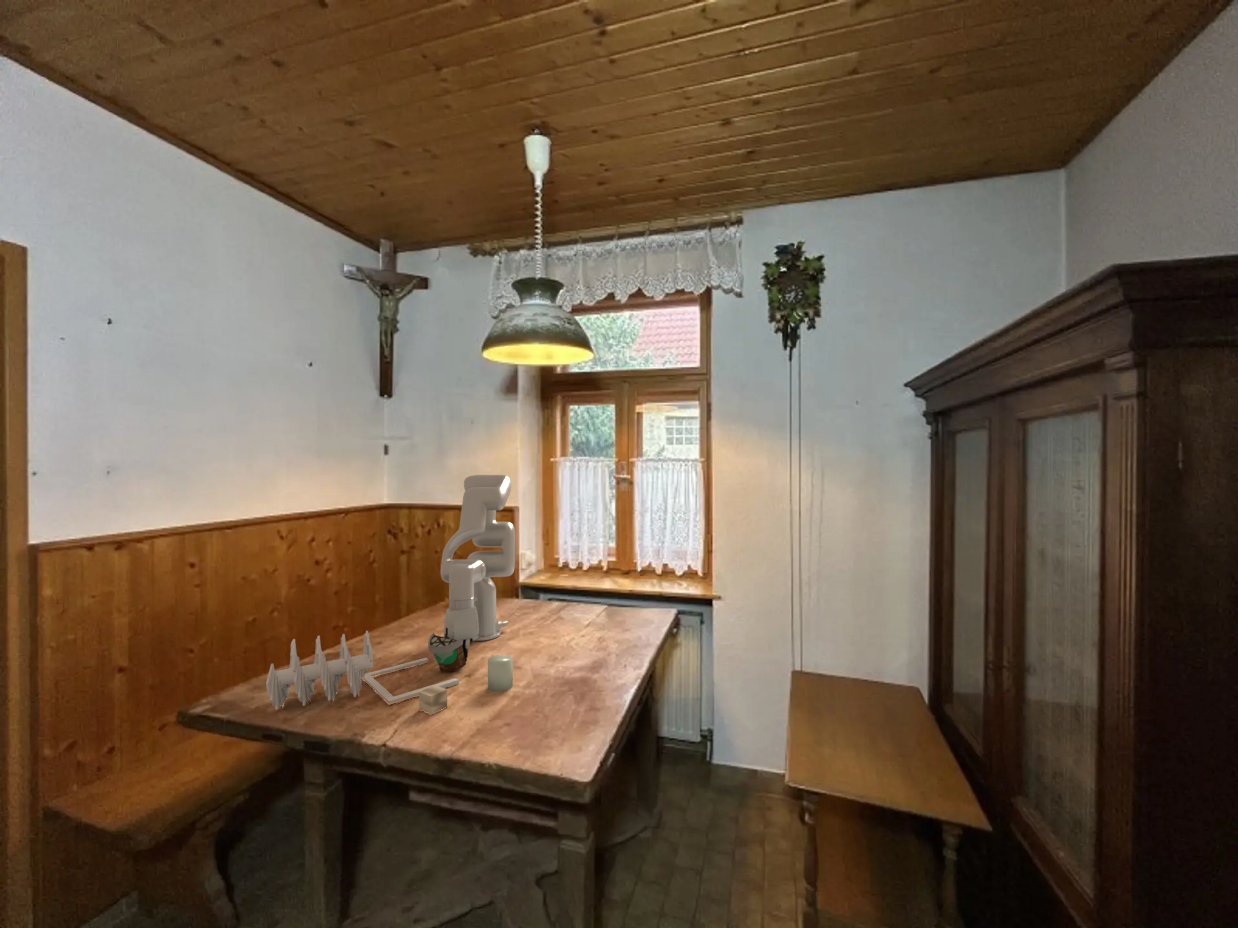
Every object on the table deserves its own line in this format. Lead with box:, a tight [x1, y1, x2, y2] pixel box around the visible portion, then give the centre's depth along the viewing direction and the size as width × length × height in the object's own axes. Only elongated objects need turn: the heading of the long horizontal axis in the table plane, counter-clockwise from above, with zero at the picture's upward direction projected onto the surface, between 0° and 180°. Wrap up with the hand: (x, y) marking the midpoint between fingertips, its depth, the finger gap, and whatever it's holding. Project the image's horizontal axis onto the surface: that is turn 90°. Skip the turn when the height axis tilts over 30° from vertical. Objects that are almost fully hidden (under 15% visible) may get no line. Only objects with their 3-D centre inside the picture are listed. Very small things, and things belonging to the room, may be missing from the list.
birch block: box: [418, 684, 448, 714], centre depth 140 cm, size 5×5×5 cm
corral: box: [362, 657, 460, 703], centre depth 158 cm, size 20×24×1 cm
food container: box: [427, 632, 467, 673], centre depth 165 cm, size 12×6×10 cm, turn 62°
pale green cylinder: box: [487, 654, 514, 693], centre depth 154 cm, size 7×7×8 cm
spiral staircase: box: [265, 630, 374, 711], centre depth 146 cm, size 18×18×25 cm
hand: (462, 660), depth 169 cm, fingers closed
